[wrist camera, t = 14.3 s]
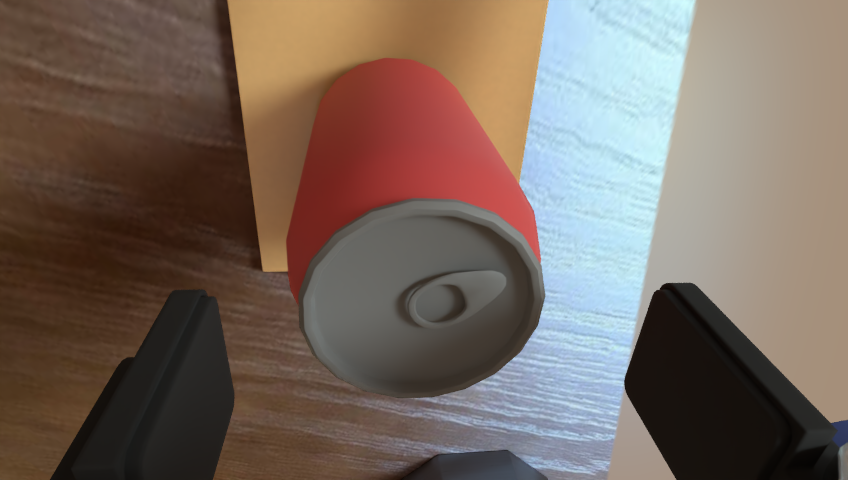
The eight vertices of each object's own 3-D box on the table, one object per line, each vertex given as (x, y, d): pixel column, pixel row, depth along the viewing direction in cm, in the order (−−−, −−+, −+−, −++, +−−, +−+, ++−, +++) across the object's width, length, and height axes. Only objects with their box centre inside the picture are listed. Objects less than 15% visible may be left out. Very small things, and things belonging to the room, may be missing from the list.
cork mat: (552, -49, 19) (557, -49, 19) (503, 262, 26) (505, 267, 26) (221, -69, 18) (217, -70, 17) (264, 266, 25) (262, 272, 24)
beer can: (489, 170, 23) (595, 359, 13) (356, 225, 24) (356, 447, 13) (436, 25, 19) (523, 124, 9) (283, 95, 20) (207, 258, 10)
